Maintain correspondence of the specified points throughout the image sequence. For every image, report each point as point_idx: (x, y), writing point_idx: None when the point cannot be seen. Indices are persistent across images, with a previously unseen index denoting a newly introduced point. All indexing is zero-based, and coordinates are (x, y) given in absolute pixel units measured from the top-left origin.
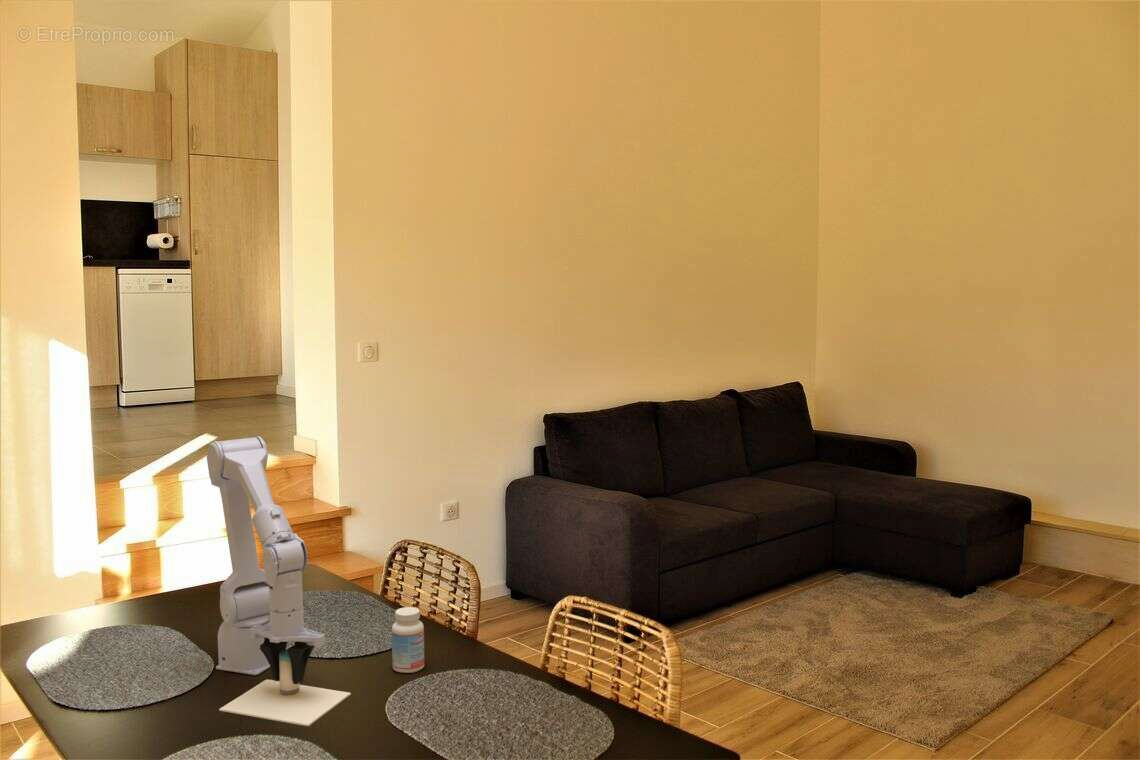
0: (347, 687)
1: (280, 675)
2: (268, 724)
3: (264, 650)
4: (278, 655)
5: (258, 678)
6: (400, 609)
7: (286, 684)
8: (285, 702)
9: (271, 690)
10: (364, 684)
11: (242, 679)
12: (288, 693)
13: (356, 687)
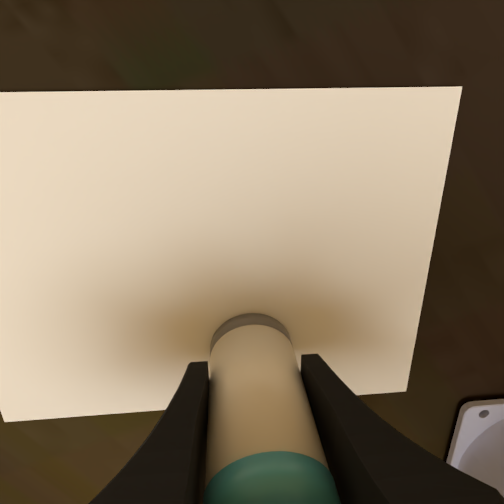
0: (72, 451)
1: (283, 375)
2: (115, 38)
3: (447, 490)
4: (345, 492)
5: (444, 390)
6: None
7: (239, 346)
8: (195, 261)
9: (330, 328)
10: (33, 486)
11: (500, 364)
12: (229, 322)
13: (40, 462)
